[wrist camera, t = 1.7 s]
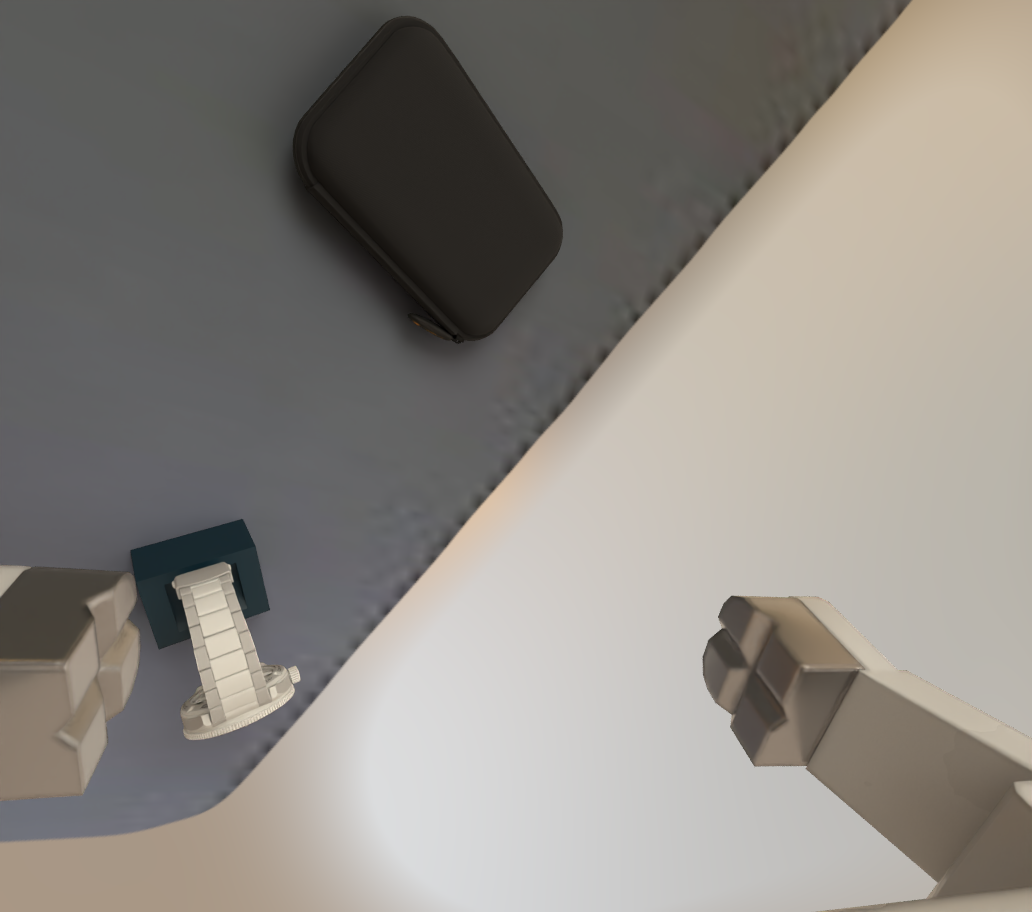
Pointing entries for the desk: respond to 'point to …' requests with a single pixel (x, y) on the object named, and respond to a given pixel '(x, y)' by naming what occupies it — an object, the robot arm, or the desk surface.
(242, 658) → the watch
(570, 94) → the desk surface
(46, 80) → the desk surface
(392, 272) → the carrying case
